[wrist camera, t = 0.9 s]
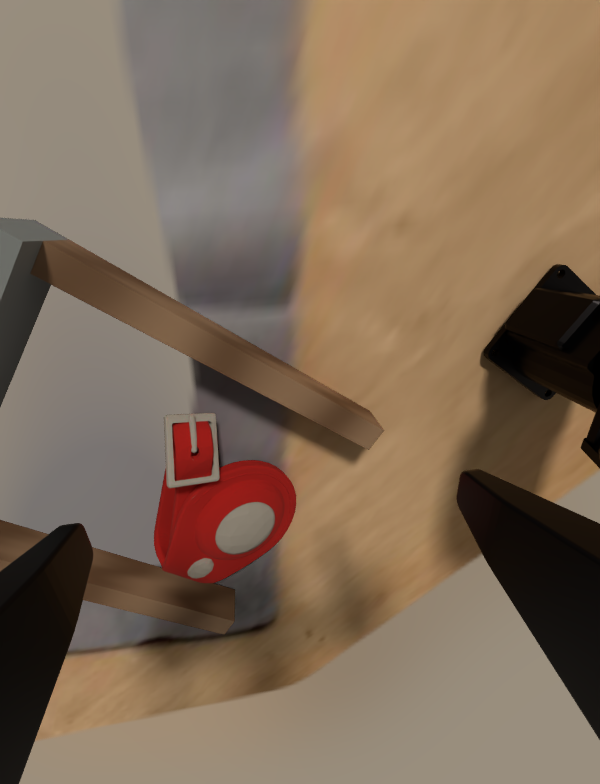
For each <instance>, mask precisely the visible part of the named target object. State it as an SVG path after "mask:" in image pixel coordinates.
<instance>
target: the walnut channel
mask: <svg viewBox="0 0 600 784" xmlns="http://www.w3.org/2000/svg"><path fill="white" fill-rule="evenodd" d="M30 274H32V275H34V276H36V277H38V278H40V279H41V280H43V281H45V282H47V283H49V284H51V285H53V286H55V287H57V288H59V289H61V290H63V291H64V292H66V293H68V294H70V295H72V296H74V297H76V298H78V299H80V300H82V301H84V302H86V303H88V304H90V305H91V306H93V307H95V308H97V309H99V310H101V311H103V312H105V313H107V314H109V315H111V316H112V317H114V318H116V319H118V320H120V321H122V322H124V323H126V324H128V325H130V326H132V327H134V328H136V329H137V330H139V331H142V332H143V333H145V334H147V335H149V336H151V337H153V338H155V339H157V340H159V341H161V342H162V343H164V344H166V345H168V346H170V347H172V348H174V349H176V350H178V351H180V352H182V353H183V354H186V355H187V356H189V357H191V358H193V359H195V360H197V361H199V362H201V363H203V364H205V365H207V366H208V367H210V368H212V369H214V370H216V371H218V372H220V373H222V374H224V375H226V376H228V377H230V378H231V379H233V380H235V381H237V382H239V383H241V384H243V385H245V386H247V387H249V388H251V389H253V390H255V391H256V392H258V393H260V394H262V395H264V396H266V397H268V398H270V399H272V400H274V401H276V402H278V403H279V404H281V405H283V406H285V407H287V408H289V409H291V410H293V411H295V412H297V413H299V414H301V415H303V416H304V417H306V418H308V419H310V420H312V421H314V422H316V423H318V424H320V425H322V426H324V427H326V428H327V429H329V430H331V431H333V432H335V433H337V434H339V435H341V436H343V437H345V438H347V439H349V440H351V441H352V442H354V443H356V444H358V445H360V446H362V447H364V448H366V449H368V450H369V449H370V448H371V447H372V446H373V444H374V443H375V442H376V440H377V439H378V438H379V437H380V435H381V434H382V433H383V432H384V429H383V428H382V427H381V425H380V424H379V423H378V421H377V420H376V419H375V417H374V416H373V415H372V413H371V412H370V411H369V410H367V409H365V408H363V407H362V406H360V405H358V404H356V403H355V402H353V401H351V400H349V399H348V398H346V397H344V396H342V395H341V394H339V393H337V392H335V391H334V390H332V389H330V388H328V387H327V386H325V385H323V384H321V383H320V382H318V381H316V380H314V379H313V378H311V377H309V376H307V375H306V374H304V373H302V372H300V371H299V370H297V369H295V368H293V367H292V366H290V365H288V364H286V363H285V362H283V361H281V360H279V359H278V358H276V357H274V356H272V355H271V354H269V353H267V352H265V351H264V350H262V349H260V348H258V347H257V346H255V345H253V344H251V343H250V342H248V341H246V340H244V339H242V338H241V337H239V336H237V335H235V334H234V333H232V332H230V331H228V330H227V329H225V328H223V327H221V326H220V325H218V324H216V323H214V322H213V321H211V320H209V319H207V318H206V317H204V316H202V315H200V314H199V313H197V312H195V311H193V310H192V309H190V308H188V307H186V306H185V305H183V304H181V303H179V302H178V301H176V300H174V299H172V298H171V297H169V296H167V295H165V294H164V293H162V292H160V291H158V290H156V289H155V288H153V287H151V286H150V285H148V284H146V283H144V282H143V281H141V280H139V279H137V278H136V277H134V276H132V275H130V274H128V273H127V272H125V271H123V270H121V269H120V268H118V267H116V266H114V265H113V264H111V263H109V262H107V261H106V260H104V259H102V258H100V257H99V256H97V255H95V254H93V253H92V252H90V251H88V250H86V249H85V248H83V247H81V246H79V245H78V244H76V243H74V242H72V241H71V240H51V241H43V242H42V245H41V247H40V250H39V252H38V255H37V257H36V260H35V262H34V265H33V268H32V270H31V273H30ZM47 535H49V534H46V533H43V532H39V531H35V530H32V529H29V528H26V527H22V526H19V525H15V524H12V523H9V522H5V521H2V520H0V571H1V570H3V569H4V568H5V567H7V566H8V565H9V564H10V563H12V562H13V561H14V560H16V559H17V558H18V557H20V556H21V555H22V554H24V553H25V552H26V551H28V550H29V549H30V548H31V547H33V546H34V545H35V544H37V543H38V542H39V541H41V540H42V539H43V538H45V537H46V536H47ZM92 548H93V547H92ZM83 600H86V601H90V602H94V603H98V604H102V605H106V606H110V607H114V608H118V609H122V610H126V611H130V612H134V613H138V614H143V615H147V616H151V617H155V618H159V619H163V620H167V621H171V622H175V623H179V624H183V625H187V626H191V627H195V628H199V629H204V630H208V631H212V632H216V633H220V634H225V633H226V632H227V630H228V629H229V628H230V627H231V625H232V624H233V623H234V621H235V589H231V588H228V587H224V586H221V585H218V584H214V583H199V582H196V581H193V580H190V579H187V578H184V577H181V576H178V575H174V574H171V573H168V572H165V571H163V570H162V568H160V567H157V566H154V565H150V564H147V563H143V562H140V561H137V560H133V559H130V558H127V557H123V556H120V555H117V554H113V553H110V552H106V551H103V550H100V549H96V548H93V562H92V566H91V570H90V574H89V578H88V582H87V585H86V589H85V593H84V597H83Z"/></svg>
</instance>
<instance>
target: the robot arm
mask: <svg viewBox="0 0 600 784" xmlns="http://www.w3.org/2000/svg"><path fill="white" fill-rule="evenodd" d="M558 271H560V273H559V275H558V276H557V273H558ZM494 350H495V353H494V354H493V355H492V352H493V351H494ZM484 356H485V357H486V358H487V359H488V360H490V361H491V362H493V363H494V364H495V365H497V366H498V367H499V368H501V369H502V370H503V371H505V372H506V373H507V374H509V375H510V376H511V377H513V378H514V379H515V380H517V381H518V382H519V383H521V384H522V385H523V386H525V387H526V388H527V389H529V390H530V391H531V392H533V393H534V394H535V395H537V396H538V397H540V398H542V399H544V400H548V399H550V398H552V397H553V396H554V395H555V394H556V393H558V394H560V395H562V396H564V397H566V398H568V399H570V400H572V401H574V402H576V403H578V404H580V405H582V406H584V407H586V408H588V409H590V410H592V411H594V412H596V413H595V416H594V419H593V422H592V424H591V427H590V430H589V432H588V435H587V438H584V440H583V442H582V445H581V449H582V450H583V451H584V452H585V453H586V454H587V455H588V456H589V457H590V459H591V460H592V461H593V462H594V463H595V464H596V465H597V466H598V467H599V468H600V296H598V295H596V294H595V293H594V292H593V291H592V290H591V289H590V288H589V287H588V286H587V285H586V284H585V283H584V282H583V281H582V280H581V279H580V278H579V277H578V276H577V275H576V274H575V273H574V272H573V271H572V270H571V269H570V268H569V267H568V266H566V265H560V264H557V265H554V266H553V267H552V268H551V269H550V270H549V271H548V272H547V273H546V275H545V276H544V277H543V278H542V280H541V281H540V282H539V283H538V284H537V286H536V287H535V288H534V289H533V291H532V292H531V293H530V294H529V296H528V297H527V298H526V299H525V300H524V302H523V303H522V304H521V305H520V307H519V308H518V309H517V310H516V311H515V313H514V314H513V315H512V316H511V318H510V319H509V320H508V321H507V322H506V324H505V325H504V326H503V327H502V329H501V330H500V331H499V332H498V333H497V335H496V336H495V337H494V338H493V340H492V341H491V342H490V343H489V345H488V346H487V347H486V349H485V351H484ZM546 391H547V392H546ZM545 392H546V393H545ZM457 503H458V506H459V509H460V511H461V513H462V515H463V516H464V518H465V520H466V522H467V524H468V526H469V528H470V530H471V532H472V534H473V536H474V538H475V540H476V542H477V544H478V546H479V548H480V550H481V552H482V554H483V556H484V558H485V559H486V561H487V563H488V565H489V566H490V568H491V570H492V571H493V573H494V575H495V576H496V578H497V579H498V581H499V582H500V584H501V585H502V587H503V589H504V590H505V592H506V593H507V595H508V596H509V598H510V600H511V601H512V603H513V604H514V606H515V607H516V609H517V611H518V612H519V614H520V615H521V617H522V618H523V620H524V622H525V623H526V625H527V626H528V628H529V630H530V631H531V632H532V634H533V636H534V637H535V639H536V640H537V642H538V643H539V645H540V647H541V648H542V650H543V651H544V653H545V655H546V656H547V658H548V659H549V661H550V662H551V664H552V666H553V667H554V669H555V670H556V672H557V674H558V675H559V677H560V678H561V680H562V681H563V683H564V684H565V686H566V687H567V689H568V691H569V692H570V694H571V696H572V697H573V699H574V700H575V702H576V703H577V705H578V706H579V708H580V710H581V711H582V713H583V714H584V716H585V717H586V719H587V721H588V722H589V724H590V725H591V727H592V728H593V730H594V732H595V733H596V735H597V736H598V738H599V739H600V524H599V523H597V522H595V521H592V520H590V519H588V518H586V517H584V516H581V515H579V514H577V513H575V512H573V511H570V510H568V509H566V508H564V507H561V506H559V505H557V504H555V503H553V502H550V501H548V500H546V499H544V498H542V497H539V496H537V495H535V494H533V493H531V492H528V491H526V490H524V489H522V488H519V487H517V486H515V485H513V484H511V483H508V482H506V481H504V480H502V479H500V478H497V477H495V476H493V475H491V474H488V473H486V472H484V471H482V470H479V469H474V470H467V471H463V472H462V473H461V475H460V479H459V485H458V492H457ZM92 562H93V548H92V546H91V543H90V541H89V538H88V536H87V533H86V531H85V528H84V526H83V525H82V524H80V523H75V524H67V525H62V526H59V527H58V528H56V529H55V530H54V531H52V532H51V533H50V534H49V535H47V536H46V537H45V538H43V539H42V540H41V541H39V542H38V543H37V544H35V545H34V546H33V547H31V548H30V549H29V550H28V551H26V552H25V553H24V554H22V555H21V556H20V557H18V558H17V559H16V560H14V561H13V562H12V563H10V564H9V565H8V566H7V567H5V568H4V569H3V570H1V571H0V784H19V782H20V779H21V776H22V774H23V771H24V768H25V765H26V763H27V760H28V757H29V755H30V752H31V749H32V746H33V744H34V741H35V738H36V736H37V733H38V730H39V727H40V725H41V722H42V719H43V716H44V714H45V711H46V708H47V706H48V703H49V700H50V697H51V695H52V692H53V689H54V686H55V684H56V681H57V678H58V676H59V673H60V670H61V667H62V665H63V662H64V659H65V656H66V654H67V651H68V648H69V645H70V643H71V640H72V637H73V634H74V631H75V627H76V624H77V620H78V617H79V613H80V609H81V605H82V601H83V597H84V593H85V589H86V585H87V582H88V578H89V574H90V570H91V566H92Z"/></svg>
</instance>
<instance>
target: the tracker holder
mask: <svg viewBox="0 0 600 784" xmlns="http://www.w3.org/2000/svg"><path fill="white" fill-rule="evenodd" d="M208 422H209V423H208ZM164 432H165V455H166V469H165V475H164V480H163V486H162V491H161V497H160V502H159V508H158V514H157V519H156V525H155V531H154V546H155V550H156V554H157V557H158V559H159V561H160V563H161V566H162V570H163V571H165V572H168V573H171V574H174V575H178V576H181V577H184V578H187V579H190V580H193V581H196V582H199V583H215V582H218V581H220V580H222V579H224V578H226V577H228V576H230V575H231V574H233V573H235V572H237V571H238V570H240V569H242V568H244V567H245V566H247V565H248V564H250V563H251V562H253V561H254V560H256V559H257V558H259V557H260V556H262V555H263V554H264V553H266V552H267V551H268V550H270V549H271V548H272V547H273V546H274V545H276V544H277V542H278V541H279V540H280V539H281V538H282V537H283V535H284V534H285V532H286V531H287V529H288V527H289V526H290V524H291V522H292V519H293V516H294V513H295V508H296V494H295V490H294V487H293V485H292V483H291V481H290V480H289V478H288V477H287V476H286V475H285V474H284V473H283V472H282V471H281V470H280V469H279V468H277V467H276V466H274V465H272V464H270V463H267V462H262V461H257V460H247V461H239V462H234V463H231V464H228V465H225V466H223V467H221V468H220V467H219V460H218V444H217V427H216V415H215V414H214V413H200V414H177V415H166V416H165V417H164Z"/></svg>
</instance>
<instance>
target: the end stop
mask: <svg viewBox="0 0 600 784" xmlns="http://www.w3.org/2000/svg"><path fill="white" fill-rule="evenodd" d="M51 240H69V239H67V238H65V237H64V236H62V235H60V234H58V233H56V232H55V231H53V230H51V229H50V228H48V227H46V226H44V225H43V224H41V223H39V222H37V221H36V220H26V219H25V220H24V219H11V218H10V219H9V218H0V406H1V404H2V402H3V399H4V397H5V394H6V392H7V390H8V387H9V385H10V382H11V380H12V377H13V375H14V373H15V370H16V368H17V365H18V363H19V361H20V358H21V356H22V353H23V351H24V348H25V346H26V344H27V341H28V339H29V336H30V334H31V332H32V329H33V327H34V324H35V322H36V319H37V317H38V315H39V312H40V310H41V307H42V305H43V303H44V300H45V298H46V295H47V293H48V291H49V288H50V286H51V284H49V283H47V282H45V281H43V280H41V279H40V278H38V277H36V276H34V275H32V274H30V273H31V270H32V268H33V265H34V262H35V260H36V257H37V255H38V252H39V250H40V247H41V245H42V242H43V241H51Z"/></svg>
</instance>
